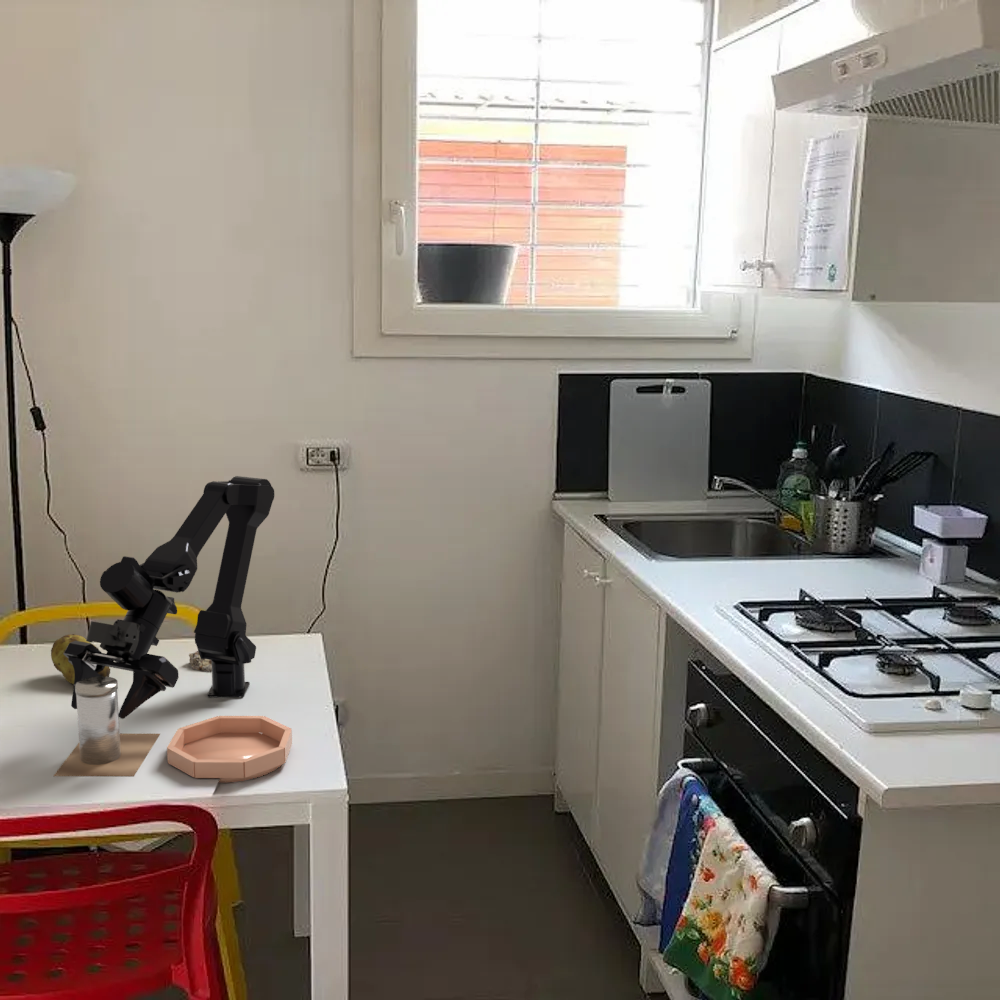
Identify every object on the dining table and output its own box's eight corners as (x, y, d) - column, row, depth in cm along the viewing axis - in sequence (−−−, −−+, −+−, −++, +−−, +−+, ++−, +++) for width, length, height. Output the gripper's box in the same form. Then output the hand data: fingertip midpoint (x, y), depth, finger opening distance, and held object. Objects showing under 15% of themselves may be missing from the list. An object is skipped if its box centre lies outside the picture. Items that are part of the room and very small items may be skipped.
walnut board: (86, 737, 199) (86, 733, 199) (160, 738, 199) (160, 733, 199) (53, 780, 183) (53, 775, 183) (134, 781, 183) (133, 776, 183)
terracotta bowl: (186, 735, 200) (185, 715, 199) (297, 736, 201) (296, 716, 200) (159, 784, 183) (158, 762, 182) (280, 784, 183) (279, 762, 182)
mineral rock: (187, 663, 228) (189, 639, 235) (187, 682, 230) (189, 657, 237) (246, 662, 230) (246, 638, 237) (246, 681, 232) (246, 656, 239)
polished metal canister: (86, 748, 193) (82, 676, 190) (126, 748, 193) (122, 676, 190) (74, 764, 187) (69, 690, 184) (115, 765, 187) (110, 691, 184)
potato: (67, 696, 216) (64, 653, 215) (47, 675, 227) (45, 633, 225) (114, 687, 221) (112, 645, 219) (93, 666, 231) (90, 626, 230)
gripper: (68, 591, 193) (20, 680, 185) (163, 607, 186) (117, 699, 178) (105, 625, 202) (61, 711, 194) (197, 641, 195) (155, 731, 187)
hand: (96, 712), depth 188 cm, fingers open, 9 cm apart
